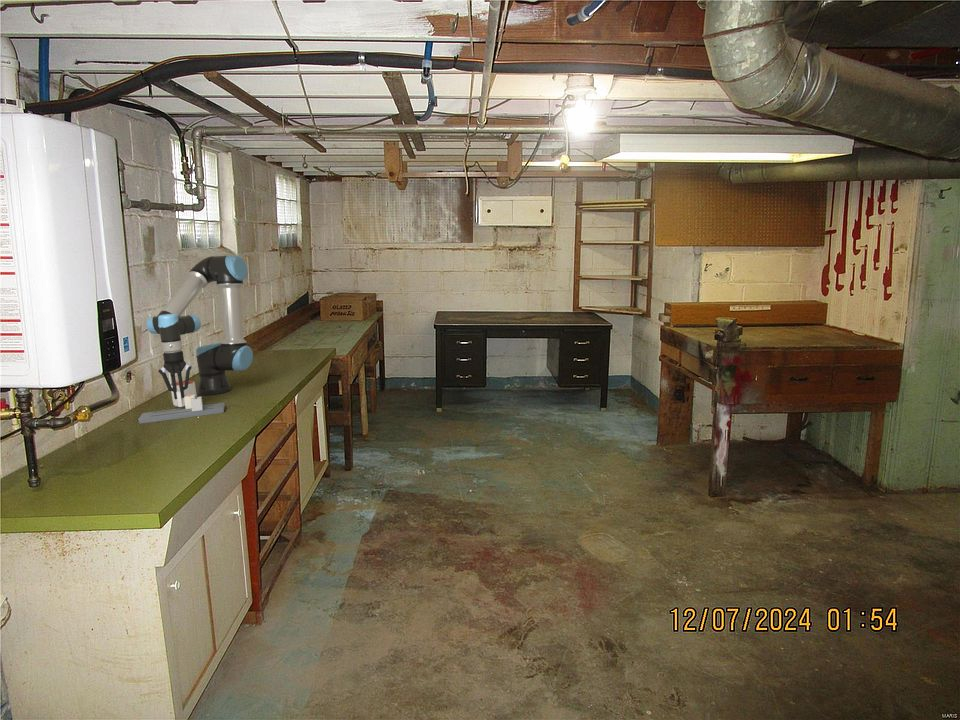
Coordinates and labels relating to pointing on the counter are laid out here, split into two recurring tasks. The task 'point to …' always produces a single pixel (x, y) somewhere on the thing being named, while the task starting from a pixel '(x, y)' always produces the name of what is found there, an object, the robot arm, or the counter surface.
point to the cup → (189, 391)
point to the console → (180, 413)
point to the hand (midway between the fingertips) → (180, 406)
